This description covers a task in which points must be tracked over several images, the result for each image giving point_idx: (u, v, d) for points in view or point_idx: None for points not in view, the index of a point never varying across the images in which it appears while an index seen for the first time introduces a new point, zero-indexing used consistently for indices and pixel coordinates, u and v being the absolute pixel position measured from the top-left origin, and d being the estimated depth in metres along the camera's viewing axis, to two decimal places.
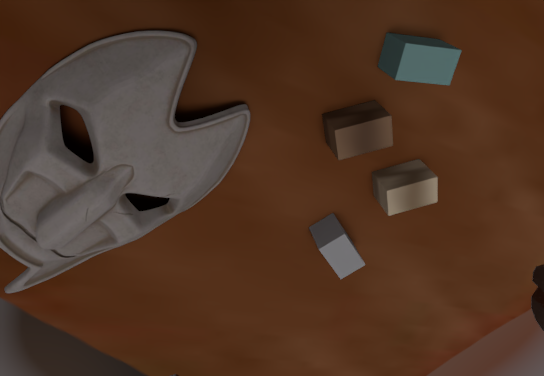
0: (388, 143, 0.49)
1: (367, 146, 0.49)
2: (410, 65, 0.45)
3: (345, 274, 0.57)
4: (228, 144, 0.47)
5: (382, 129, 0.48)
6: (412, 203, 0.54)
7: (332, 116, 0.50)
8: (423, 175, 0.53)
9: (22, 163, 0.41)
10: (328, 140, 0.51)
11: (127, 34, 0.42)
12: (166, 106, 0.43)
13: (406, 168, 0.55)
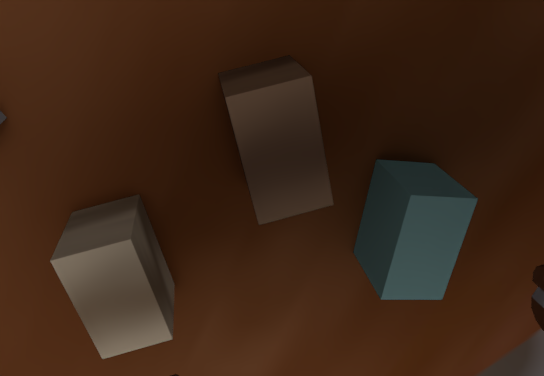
0: (265, 213, 0.21)
1: (260, 166, 0.20)
2: (434, 217, 0.22)
3: None
4: None
5: (302, 192, 0.21)
6: (93, 308, 0.21)
7: None
8: (165, 308, 0.23)
9: None
10: (238, 74, 0.21)
11: None
12: None
13: (161, 266, 0.25)
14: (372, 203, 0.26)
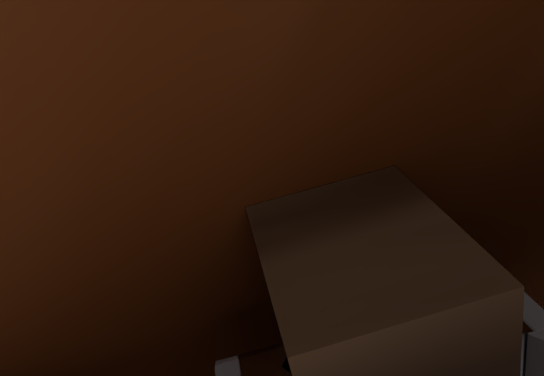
0: None
1: None
2: None
3: None
4: None
5: None
6: None
7: None
8: None
9: None
10: (295, 227, 0.09)
11: None
12: None
13: None
14: None
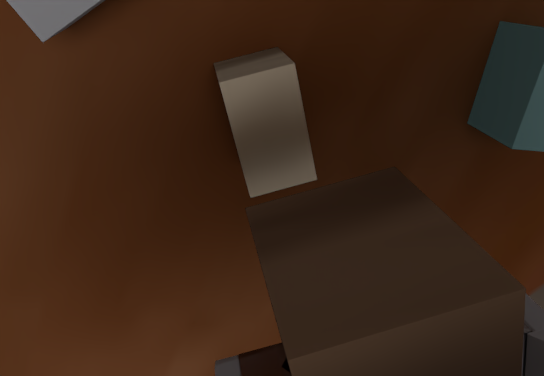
0: None
1: None
2: None
3: None
4: None
5: None
6: (250, 139, 0.22)
7: None
8: None
9: None
10: (295, 228, 0.09)
11: None
12: None
13: None
14: (495, 64, 0.27)
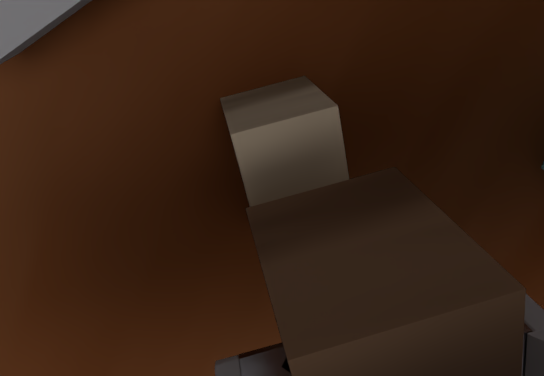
0: None
1: None
2: None
3: None
4: None
5: None
6: None
7: None
8: None
9: None
10: (296, 228, 0.09)
11: None
12: None
13: None
14: None
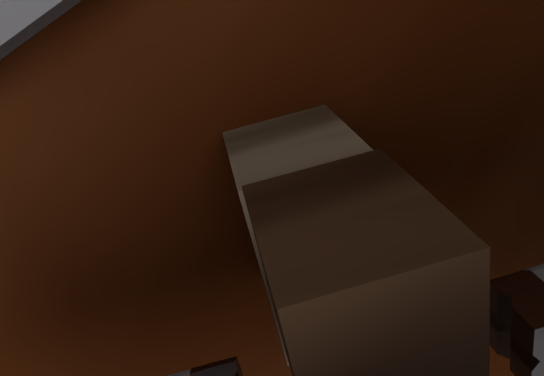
0: None
1: None
2: None
3: None
4: None
5: None
6: None
7: None
8: None
9: None
10: (287, 202, 0.10)
11: None
12: None
13: None
14: None
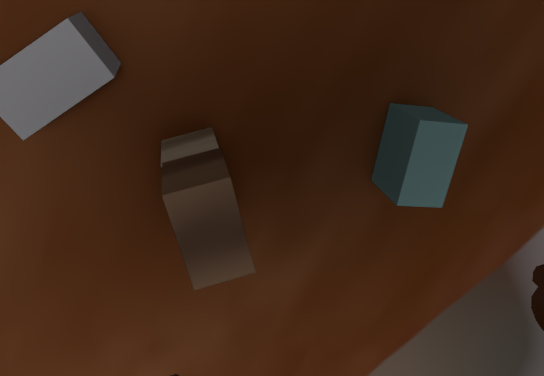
0: (199, 281, 0.26)
1: (193, 245, 0.25)
2: (436, 138, 0.30)
3: None
4: None
5: (228, 263, 0.26)
6: None
7: None
8: None
9: None
10: (176, 167, 0.26)
11: None
12: None
13: None
14: (387, 136, 0.34)
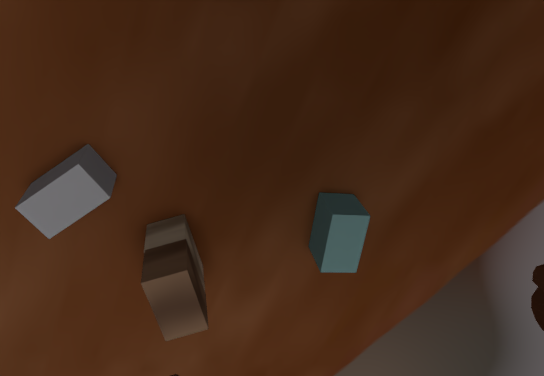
0: (168, 335, 0.37)
1: (163, 313, 0.36)
2: (346, 226, 0.41)
3: (26, 213, 0.36)
4: None
5: (188, 323, 0.37)
6: None
7: (189, 255, 0.38)
8: (200, 277, 0.42)
9: None
10: (154, 256, 0.38)
11: None
12: None
13: (196, 255, 0.44)
14: (317, 217, 0.45)
